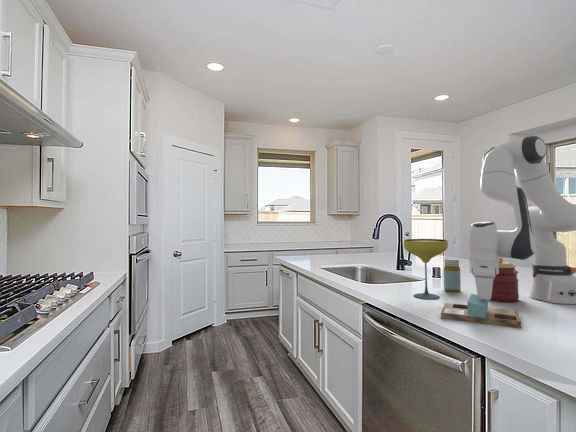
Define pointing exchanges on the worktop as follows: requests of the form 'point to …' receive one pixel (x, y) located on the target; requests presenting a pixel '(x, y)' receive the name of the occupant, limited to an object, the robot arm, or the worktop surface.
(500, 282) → the canister
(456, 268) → the bottle
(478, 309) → the teal block
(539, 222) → the robot arm
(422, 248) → the cocktail glass
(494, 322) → the board
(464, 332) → the worktop surface
